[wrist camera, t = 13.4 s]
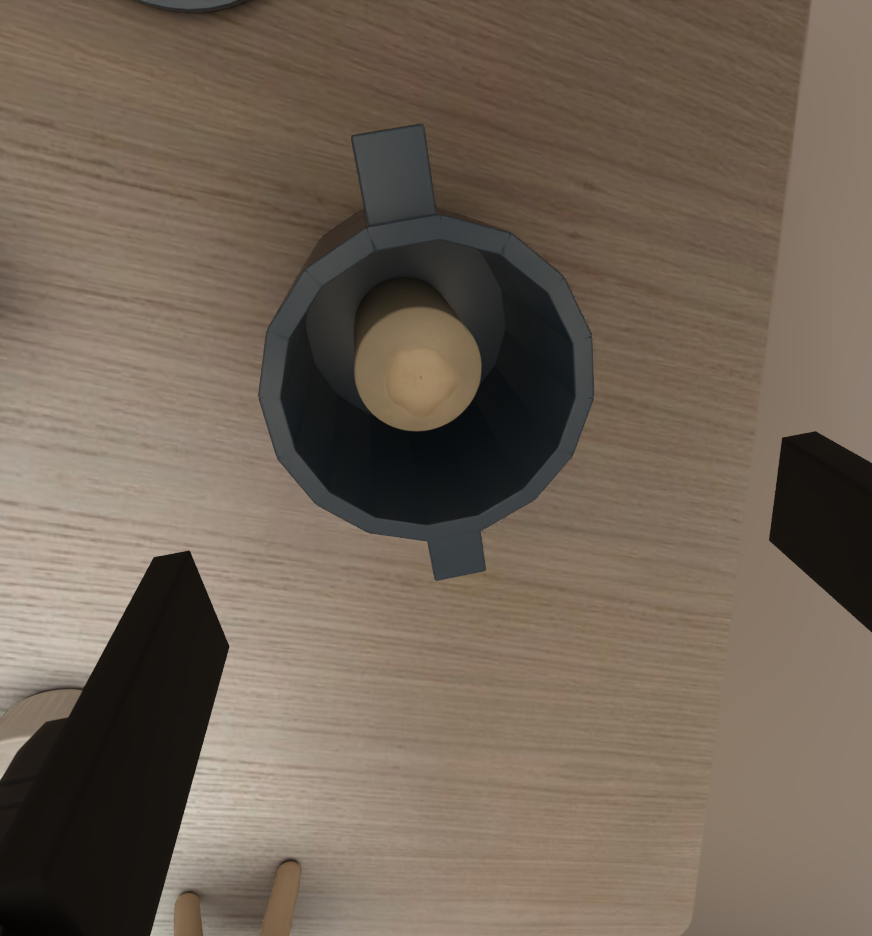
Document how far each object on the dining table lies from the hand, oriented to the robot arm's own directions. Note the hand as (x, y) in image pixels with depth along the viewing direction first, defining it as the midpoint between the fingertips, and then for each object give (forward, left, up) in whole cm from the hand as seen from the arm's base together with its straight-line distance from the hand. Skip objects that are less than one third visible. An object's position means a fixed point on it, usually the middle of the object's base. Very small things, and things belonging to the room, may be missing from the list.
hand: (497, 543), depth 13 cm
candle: (0, 0, -23) cm, 23 cm away
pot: (0, 0, -23) cm, 23 cm away
